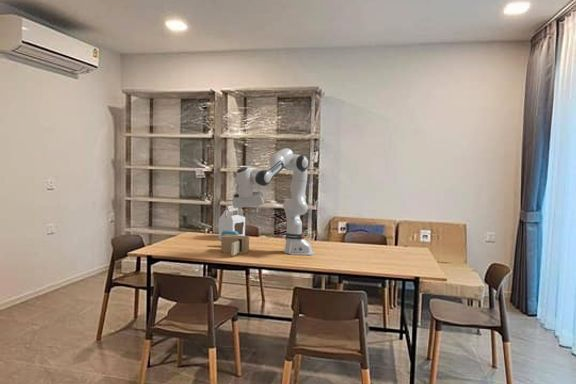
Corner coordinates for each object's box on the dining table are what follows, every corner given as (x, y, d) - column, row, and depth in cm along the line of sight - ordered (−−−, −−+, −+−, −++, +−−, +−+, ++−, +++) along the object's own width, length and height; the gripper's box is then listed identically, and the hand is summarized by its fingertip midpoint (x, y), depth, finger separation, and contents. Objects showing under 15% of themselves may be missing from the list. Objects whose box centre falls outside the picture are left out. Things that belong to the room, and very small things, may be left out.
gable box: (232, 241, 353) (233, 207, 351) (218, 239, 358) (219, 206, 356) (244, 237, 374) (245, 205, 372) (231, 235, 379) (232, 204, 377)
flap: (239, 252, 304) (239, 240, 303) (233, 255, 292) (234, 243, 292) (236, 251, 304) (237, 240, 304) (231, 255, 292) (231, 243, 292)
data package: (238, 246, 330) (238, 231, 329) (235, 248, 326) (236, 232, 325) (223, 245, 333) (224, 230, 333) (221, 246, 329) (221, 230, 328)
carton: (248, 250, 316) (249, 235, 316) (244, 253, 307) (245, 237, 306) (225, 249, 320) (225, 234, 319) (220, 251, 310) (221, 236, 309)
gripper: (262, 189, 280) (266, 209, 284) (232, 192, 283) (236, 212, 287) (261, 192, 274) (264, 212, 278) (230, 195, 277) (234, 215, 281)
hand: (249, 212), depth 282 cm, fingers open, 8 cm apart
